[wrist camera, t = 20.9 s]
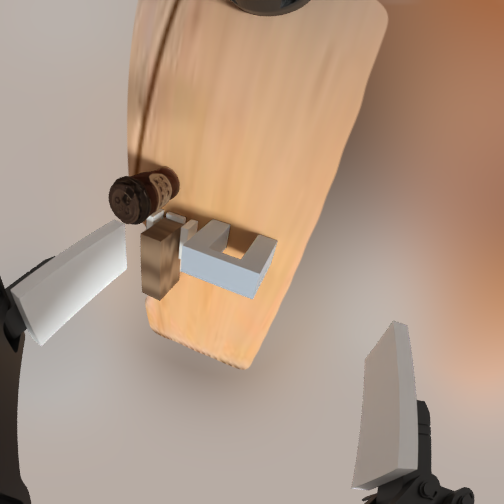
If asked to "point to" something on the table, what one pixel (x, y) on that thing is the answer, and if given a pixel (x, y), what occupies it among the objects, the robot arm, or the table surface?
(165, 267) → the walnut bar
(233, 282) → the bore block
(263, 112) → the table surface
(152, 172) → the coffee cup
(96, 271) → the robot arm
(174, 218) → the cradle
